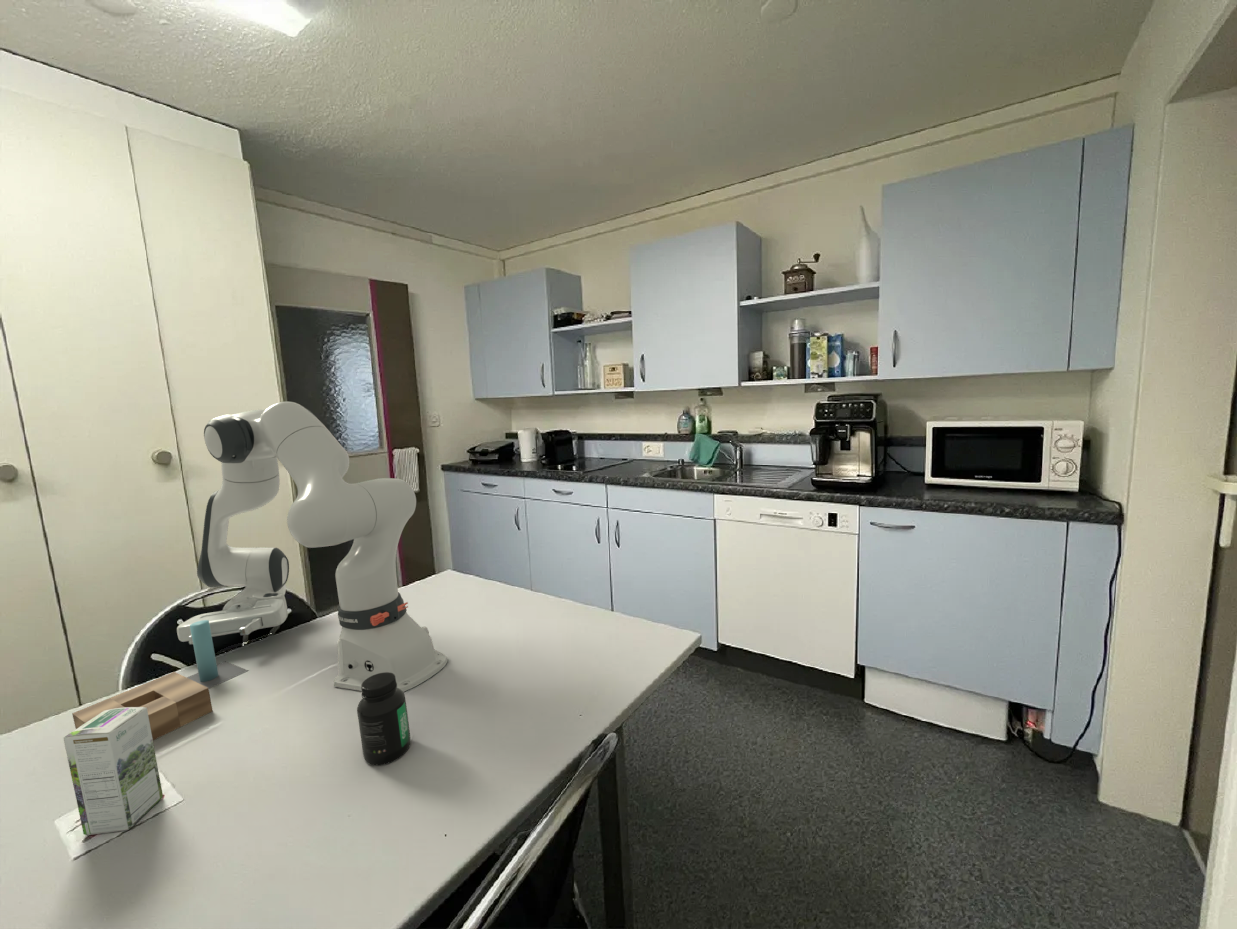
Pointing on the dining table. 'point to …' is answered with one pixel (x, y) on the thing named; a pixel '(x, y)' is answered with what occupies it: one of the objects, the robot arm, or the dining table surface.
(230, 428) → the robot arm
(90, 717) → the hole block
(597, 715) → the dining table surface
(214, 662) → the peg
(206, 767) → the dining table surface
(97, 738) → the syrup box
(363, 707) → the supplement bottle
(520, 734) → the dining table surface
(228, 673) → the mat
